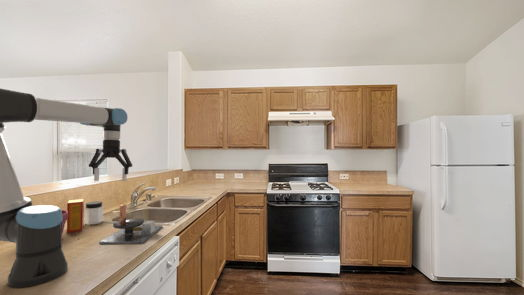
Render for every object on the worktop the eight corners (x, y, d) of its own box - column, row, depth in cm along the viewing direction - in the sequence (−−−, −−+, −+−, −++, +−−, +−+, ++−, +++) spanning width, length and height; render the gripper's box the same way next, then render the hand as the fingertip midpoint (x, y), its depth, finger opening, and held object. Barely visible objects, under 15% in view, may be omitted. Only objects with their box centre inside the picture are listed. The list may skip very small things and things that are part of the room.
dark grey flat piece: (142, 243, 111) (143, 229, 111) (99, 244, 111) (99, 230, 111) (162, 227, 135) (162, 215, 135) (126, 227, 135) (126, 215, 135)
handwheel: (142, 237, 116) (143, 205, 116) (106, 237, 115) (106, 205, 116) (154, 227, 130) (155, 199, 131) (122, 227, 130) (122, 199, 130)
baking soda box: (69, 227, 134) (69, 199, 134) (83, 225, 137) (83, 198, 138) (66, 232, 126) (67, 202, 126) (82, 230, 130) (82, 201, 130)
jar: (84, 225, 138) (84, 204, 138) (85, 222, 145) (85, 202, 145) (102, 223, 143) (103, 203, 143) (102, 219, 150) (103, 200, 150)
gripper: (139, 140, 128) (138, 180, 127) (90, 139, 126) (89, 180, 125) (133, 139, 121) (132, 181, 120) (81, 138, 118) (79, 181, 118)
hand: (110, 180), depth 123 cm, fingers open, 13 cm apart
